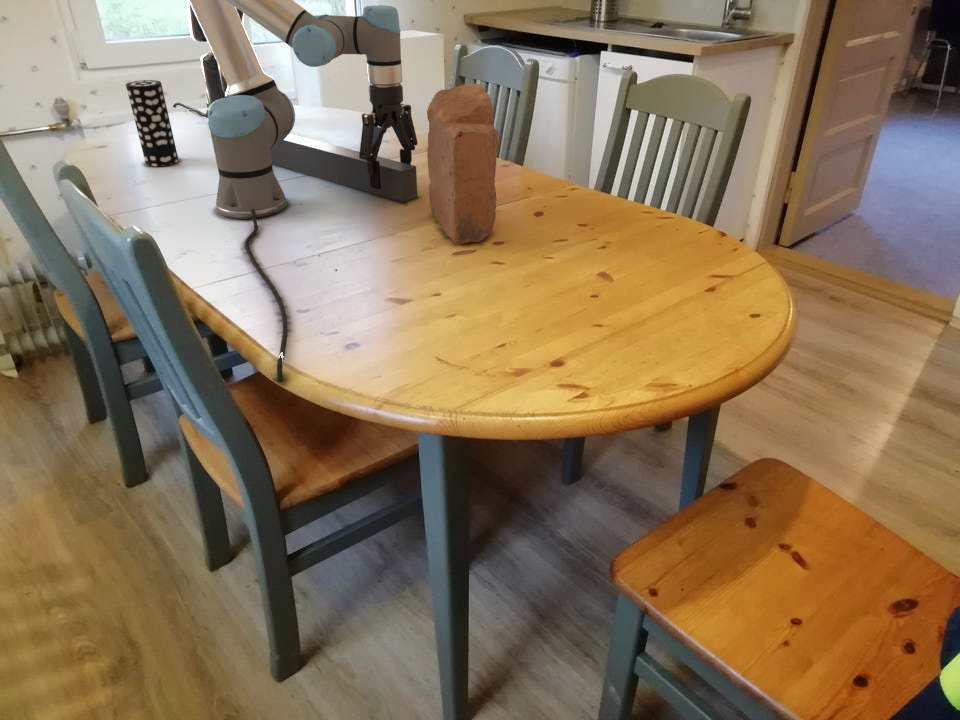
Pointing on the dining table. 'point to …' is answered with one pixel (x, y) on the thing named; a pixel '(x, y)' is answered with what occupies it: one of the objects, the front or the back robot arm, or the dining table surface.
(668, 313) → the dining table surface
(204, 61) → the back robot arm
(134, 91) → the black white spotted cylinder
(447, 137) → the stone
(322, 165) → the post
